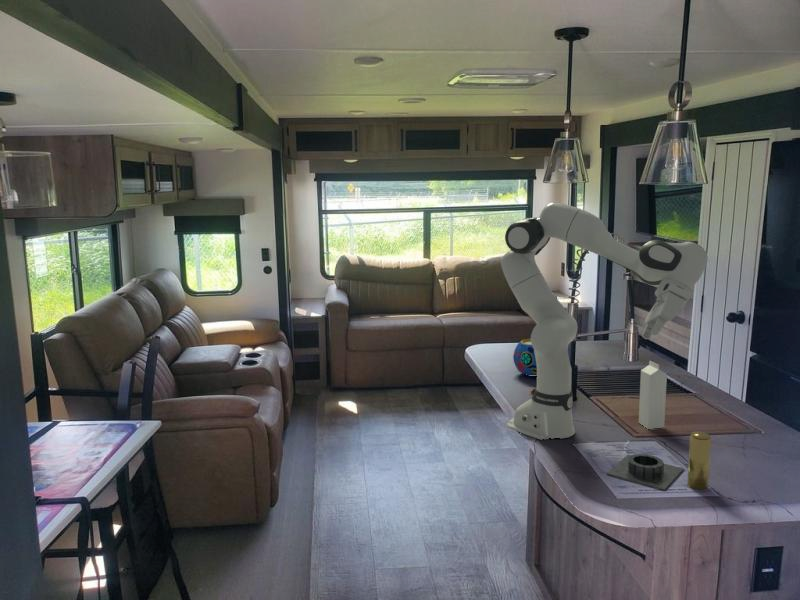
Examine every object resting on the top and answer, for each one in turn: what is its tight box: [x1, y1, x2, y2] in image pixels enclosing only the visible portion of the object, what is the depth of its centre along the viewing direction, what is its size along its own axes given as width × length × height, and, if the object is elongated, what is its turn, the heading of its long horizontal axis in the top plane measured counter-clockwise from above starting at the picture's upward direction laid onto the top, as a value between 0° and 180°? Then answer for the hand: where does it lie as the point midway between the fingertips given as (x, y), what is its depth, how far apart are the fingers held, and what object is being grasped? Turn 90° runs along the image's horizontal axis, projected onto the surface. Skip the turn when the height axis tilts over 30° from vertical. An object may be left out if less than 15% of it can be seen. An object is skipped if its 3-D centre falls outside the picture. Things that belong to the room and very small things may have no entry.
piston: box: [687, 431, 712, 491], centre depth 171 cm, size 5×5×15 cm
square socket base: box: [606, 453, 685, 492], centre depth 181 cm, size 16×16×4 cm
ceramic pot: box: [512, 338, 537, 375], centre depth 276 cm, size 18×18×15 cm
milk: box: [638, 360, 668, 430], centre depth 214 cm, size 6×6×22 cm
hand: (649, 336), depth 184 cm, fingers open, 8 cm apart
